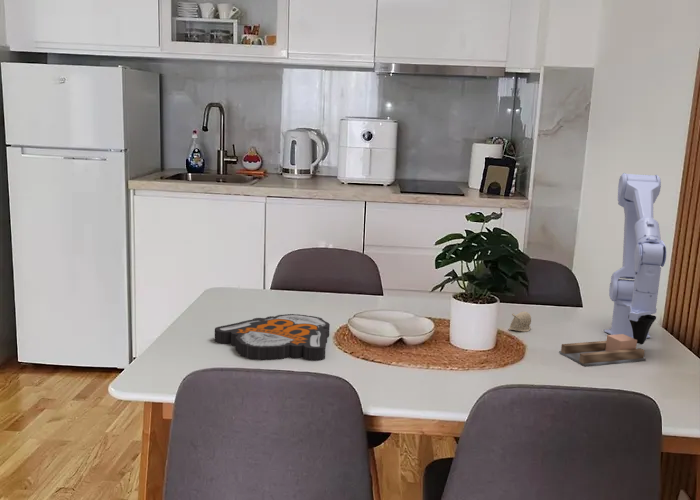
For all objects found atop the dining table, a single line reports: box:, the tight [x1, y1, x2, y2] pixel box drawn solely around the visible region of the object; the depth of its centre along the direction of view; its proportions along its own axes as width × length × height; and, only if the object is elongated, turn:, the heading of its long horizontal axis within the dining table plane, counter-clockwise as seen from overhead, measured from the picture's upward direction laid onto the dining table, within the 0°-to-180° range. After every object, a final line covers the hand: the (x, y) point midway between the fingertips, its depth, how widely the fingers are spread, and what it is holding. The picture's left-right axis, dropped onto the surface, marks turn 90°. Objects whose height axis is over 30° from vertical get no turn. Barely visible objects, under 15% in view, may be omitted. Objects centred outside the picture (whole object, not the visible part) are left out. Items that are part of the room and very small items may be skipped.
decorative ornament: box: [507, 311, 532, 333], centre depth 195 cm, size 4×8×5 cm, turn 127°
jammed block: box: [605, 334, 638, 351], centre depth 177 cm, size 5×5×4 cm
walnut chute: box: [558, 340, 647, 368], centre depth 175 cm, size 18×10×2 cm, turn 110°
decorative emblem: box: [214, 313, 330, 362], centre depth 176 cm, size 29×3×30 cm
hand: (639, 343), depth 179 cm, fingers closed
